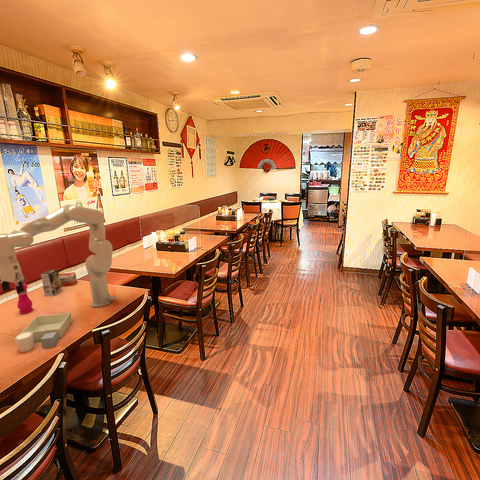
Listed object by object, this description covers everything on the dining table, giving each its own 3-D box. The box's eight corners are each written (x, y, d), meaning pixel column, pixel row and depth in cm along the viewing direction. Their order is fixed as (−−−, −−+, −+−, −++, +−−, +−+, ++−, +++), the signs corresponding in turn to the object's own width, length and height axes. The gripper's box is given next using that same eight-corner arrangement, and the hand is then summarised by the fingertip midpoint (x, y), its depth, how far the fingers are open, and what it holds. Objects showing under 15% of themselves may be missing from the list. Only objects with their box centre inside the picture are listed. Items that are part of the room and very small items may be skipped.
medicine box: (51, 288, 204) (49, 278, 202) (55, 284, 212) (53, 274, 210) (74, 286, 208) (72, 275, 206) (77, 281, 216) (75, 272, 214)
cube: (58, 340, 140) (56, 331, 139) (54, 346, 136) (52, 337, 134) (47, 342, 139) (45, 333, 138) (42, 348, 135) (40, 339, 133)
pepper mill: (25, 315, 166) (18, 283, 162) (15, 314, 168) (8, 282, 163) (36, 309, 173) (30, 278, 168) (27, 308, 175) (20, 278, 170)
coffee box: (54, 296, 191) (49, 273, 187) (44, 296, 191) (40, 274, 187) (62, 290, 200) (58, 269, 196) (53, 290, 200) (49, 269, 196)
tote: (72, 321, 159) (70, 312, 157) (61, 338, 142) (59, 328, 141) (37, 325, 155) (35, 316, 153) (22, 343, 139) (19, 333, 137)
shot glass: (21, 354, 130) (18, 341, 129) (15, 349, 134) (12, 336, 132) (38, 346, 136) (35, 333, 134) (31, 342, 139) (28, 329, 138)
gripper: (27, 258, 139) (33, 290, 143) (2, 255, 144) (9, 286, 148) (11, 262, 132) (18, 296, 136) (-15, 259, 137) (-7, 292, 141)
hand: (13, 291), depth 142 cm, fingers open, 9 cm apart
